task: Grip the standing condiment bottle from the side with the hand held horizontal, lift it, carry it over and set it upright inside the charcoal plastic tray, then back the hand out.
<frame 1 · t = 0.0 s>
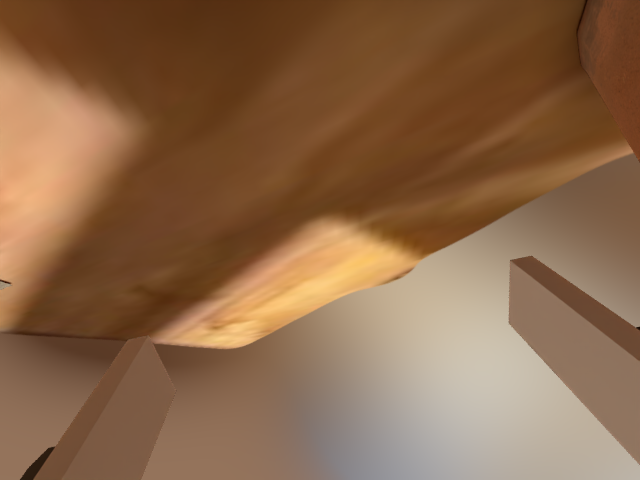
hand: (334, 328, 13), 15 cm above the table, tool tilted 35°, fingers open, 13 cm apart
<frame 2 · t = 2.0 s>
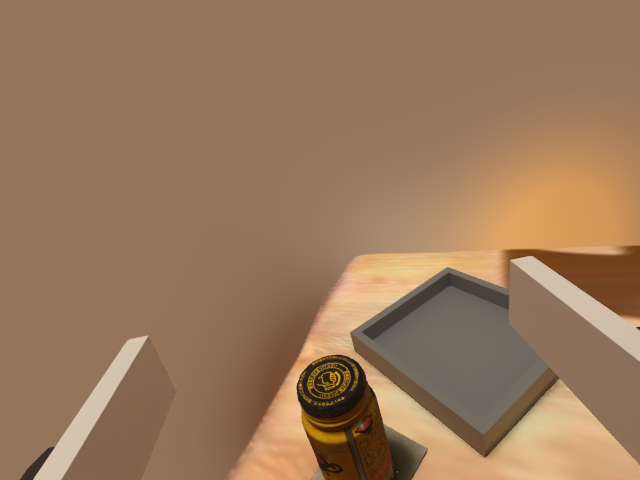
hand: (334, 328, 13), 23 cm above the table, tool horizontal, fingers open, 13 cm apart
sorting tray: (462, 347, 40), on the table
condiment: (368, 469, 31), on the table
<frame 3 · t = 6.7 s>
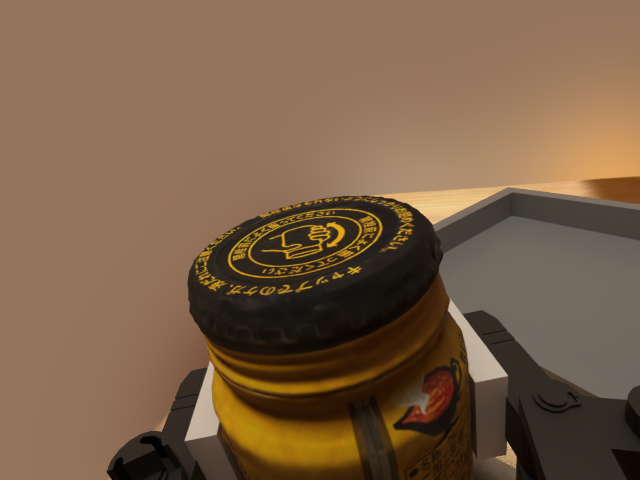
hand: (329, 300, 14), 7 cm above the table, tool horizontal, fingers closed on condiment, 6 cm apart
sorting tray: (557, 294, 22), on the table
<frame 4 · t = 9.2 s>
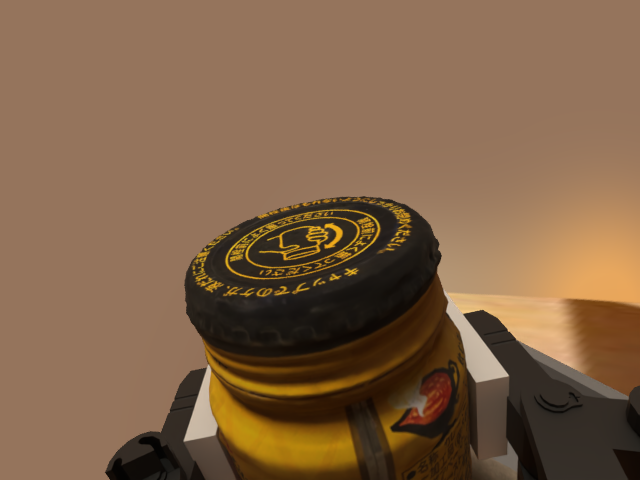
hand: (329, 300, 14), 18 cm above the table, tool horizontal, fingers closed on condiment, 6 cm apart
when the fingers open (9 cm above the table, at t = 11.8 s): condiment drops 2 cm, resting on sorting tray.
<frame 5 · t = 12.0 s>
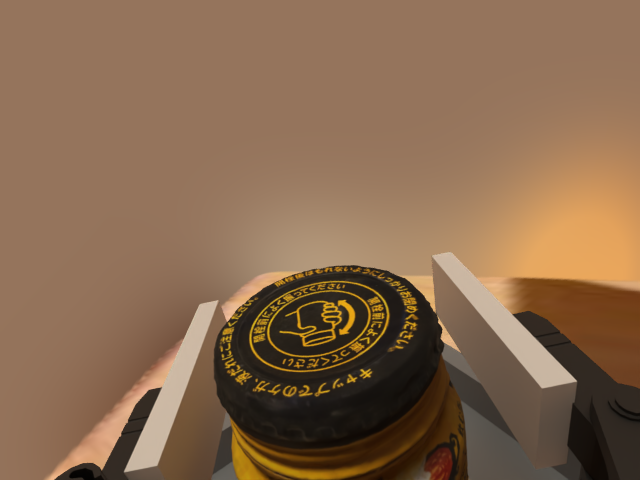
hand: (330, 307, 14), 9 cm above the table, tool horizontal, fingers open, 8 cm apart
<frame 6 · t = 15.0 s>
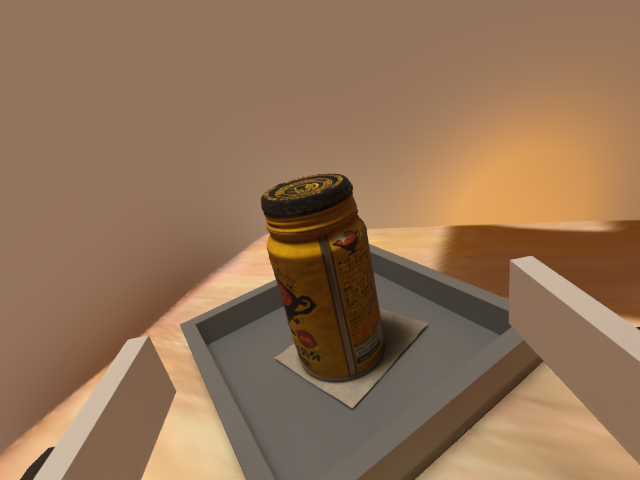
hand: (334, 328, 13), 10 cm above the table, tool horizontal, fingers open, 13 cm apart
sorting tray: (344, 355, 25), on the table
condiment: (351, 345, 25), point 1 cm above the table, touching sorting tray
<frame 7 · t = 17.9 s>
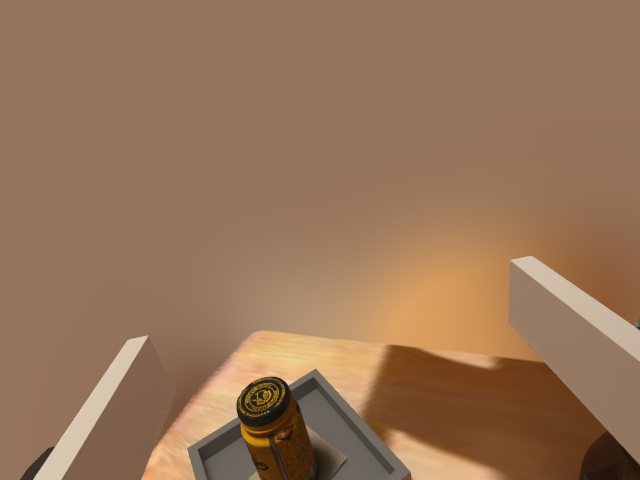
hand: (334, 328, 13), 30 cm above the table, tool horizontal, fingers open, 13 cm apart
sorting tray: (294, 476, 38), on the table
condiment: (298, 470, 38), point 1 cm above the table, touching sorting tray
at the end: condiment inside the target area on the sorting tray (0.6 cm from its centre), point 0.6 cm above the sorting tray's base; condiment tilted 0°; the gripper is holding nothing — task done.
